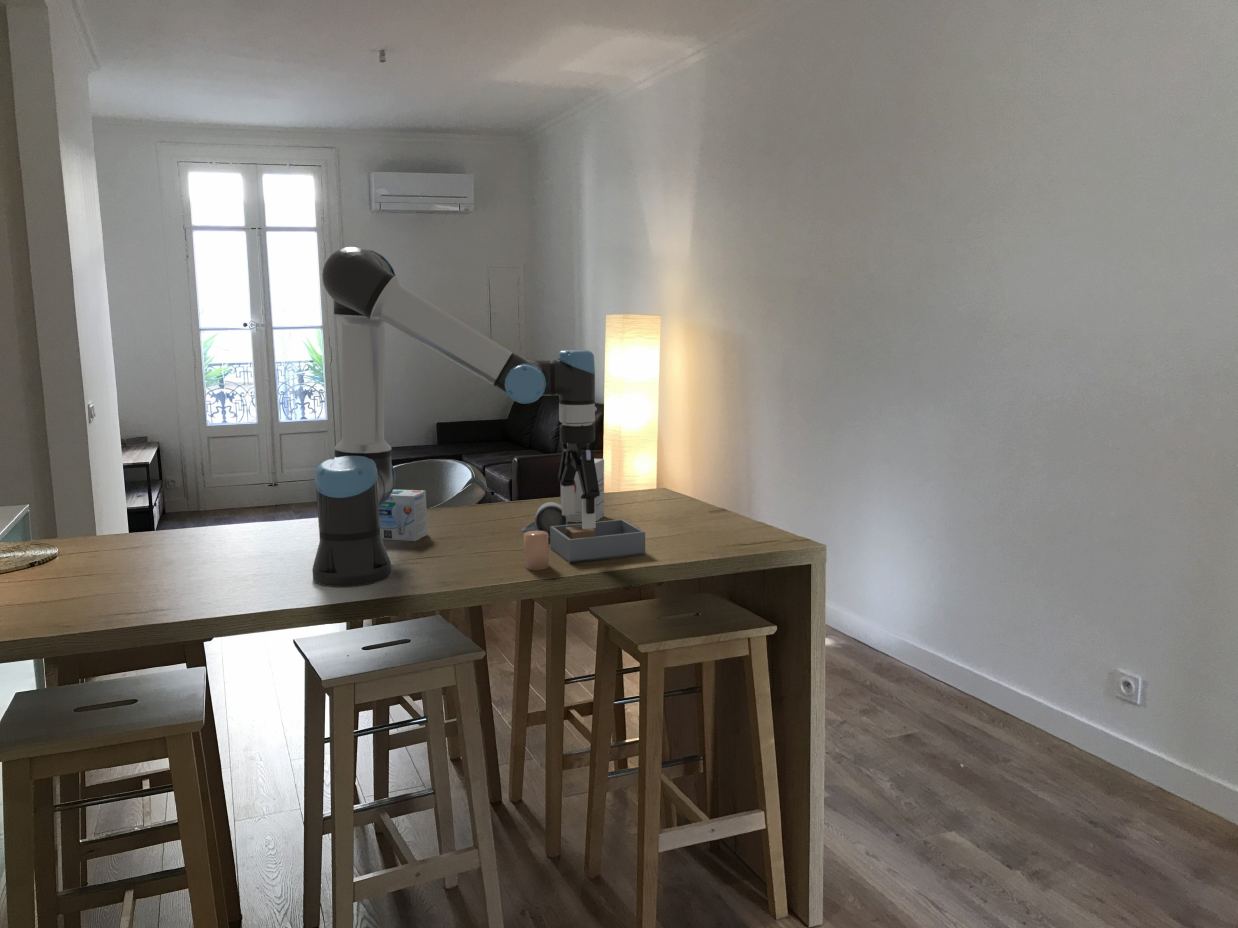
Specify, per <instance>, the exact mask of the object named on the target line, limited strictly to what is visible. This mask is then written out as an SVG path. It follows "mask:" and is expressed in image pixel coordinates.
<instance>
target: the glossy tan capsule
mask: <svg viewBox="0 0 1238 928" xmlns="http://www.w3.org/2000/svg"><path fill="white" fill-rule="evenodd" d="M549 551H550V550H549V538H548V532H545V531H529V532H525V533H524V534H523V552H524V553H523V554H524V555H523V557H524V559H523V560H524V568H525V569H526V570H529V571H541V570H546V569H549V567H550V562H549V561H550V559H549V556H550V555H549Z"/></svg>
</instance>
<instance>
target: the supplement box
mask: <svg viewBox="0 0 1238 928" xmlns="http://www.w3.org/2000/svg"><path fill="white" fill-rule="evenodd" d="M594 462H595V468H596V474H597V480H598V486H599V492H600V496H597V497H596V498H595V510H596V521H597V522H599V521H600V520H601V519H603V517H605V459H604V458H594ZM562 475H563V474H562ZM574 481H575V483H576V484H574V500H575V515H567V519H568V523H578V522H582V499H581V496H582V495H583V491H582V487H581V483H580V479H579V476H578V472H577V471H576V474H575V477H574ZM559 482H560V505H561V506H562V486H563V485H561V481H559ZM570 486H571V485H570ZM600 518H601V519H600Z"/></svg>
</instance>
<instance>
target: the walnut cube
mask: <svg viewBox="0 0 1238 928" xmlns="http://www.w3.org/2000/svg"><path fill="white" fill-rule="evenodd" d="M565 535H566V536H567V537H568V538H570V539H578V538H587V537H595V530H594V529H592V528H590V529H582V526H575V527H565Z"/></svg>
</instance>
